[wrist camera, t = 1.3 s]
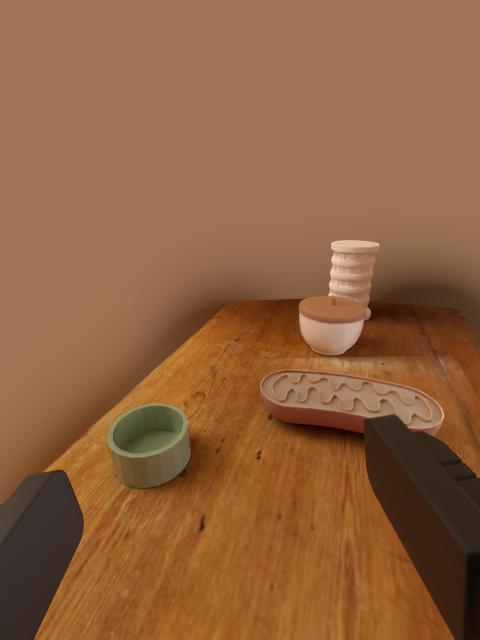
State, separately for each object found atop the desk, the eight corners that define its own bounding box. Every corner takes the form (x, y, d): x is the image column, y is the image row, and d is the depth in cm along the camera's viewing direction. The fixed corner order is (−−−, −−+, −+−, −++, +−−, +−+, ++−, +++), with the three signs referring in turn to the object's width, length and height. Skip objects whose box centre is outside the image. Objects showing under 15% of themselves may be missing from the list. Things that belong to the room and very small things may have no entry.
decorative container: (332, 303, 90) (339, 238, 84) (375, 311, 84) (386, 242, 78) (316, 316, 82) (322, 245, 75) (363, 325, 76) (374, 249, 69)
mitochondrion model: (252, 430, 43) (252, 400, 41) (268, 389, 52) (268, 363, 50) (443, 469, 37) (454, 435, 35) (425, 415, 46) (432, 385, 44)
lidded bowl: (342, 332, 72) (347, 285, 68) (372, 359, 61) (381, 304, 57) (288, 337, 70) (291, 289, 66) (310, 365, 59) (314, 309, 55)
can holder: (148, 503, 33) (142, 471, 32) (97, 463, 38) (90, 434, 37) (205, 448, 40) (203, 420, 39) (156, 421, 45) (153, 394, 44)
